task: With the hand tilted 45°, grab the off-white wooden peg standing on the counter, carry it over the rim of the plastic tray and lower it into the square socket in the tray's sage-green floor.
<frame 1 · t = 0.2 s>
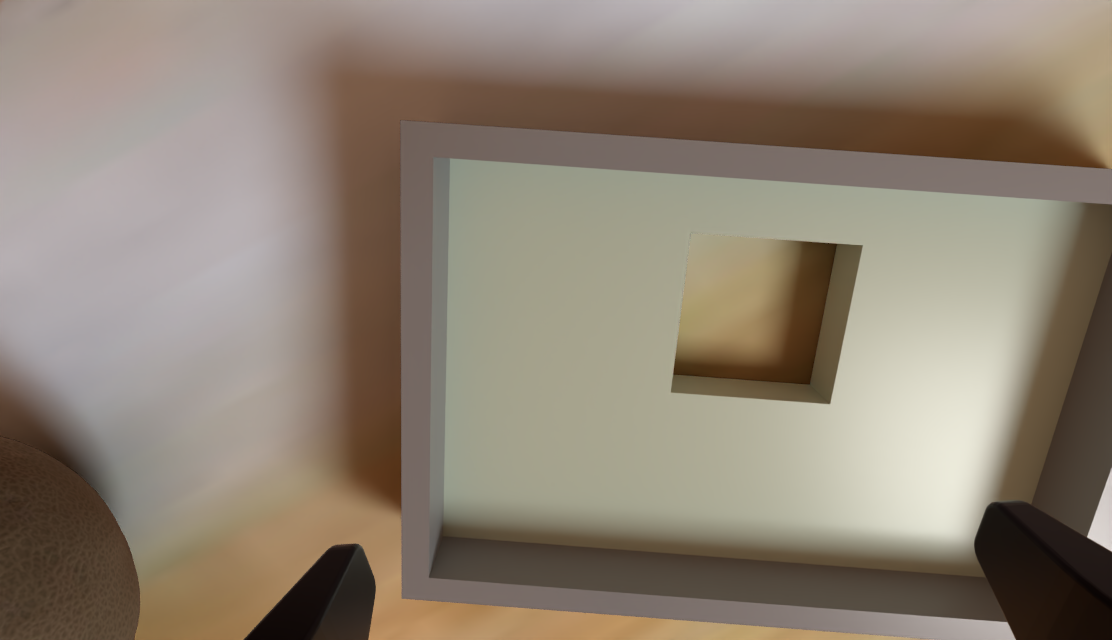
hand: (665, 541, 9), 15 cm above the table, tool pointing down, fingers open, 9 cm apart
brown ball: (78, 508, 27), on the table
tray: (747, 308, 23), on the table
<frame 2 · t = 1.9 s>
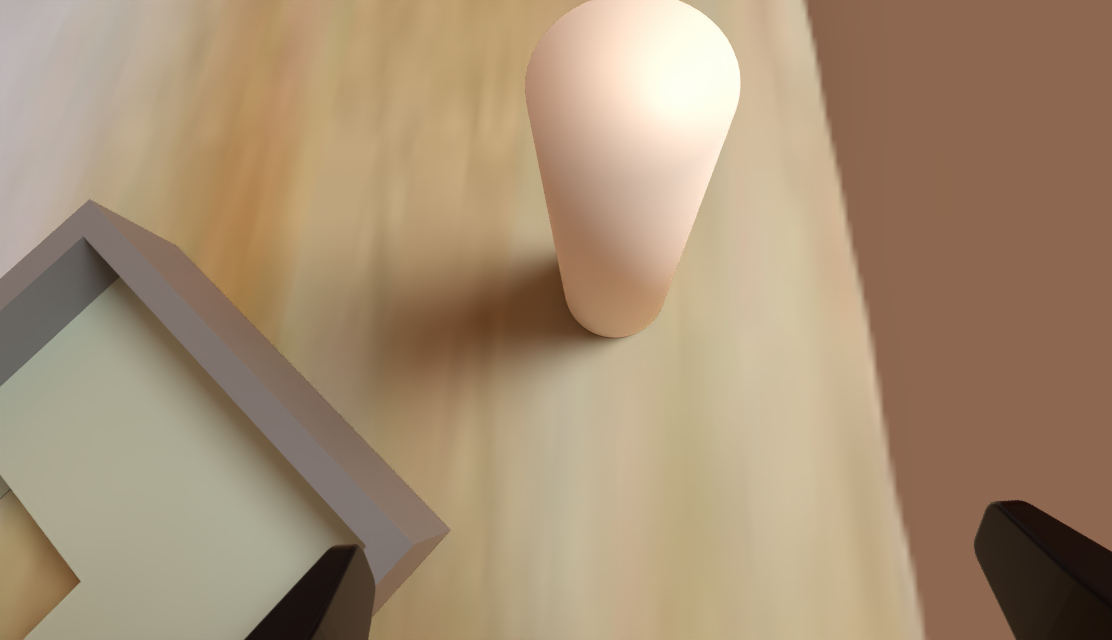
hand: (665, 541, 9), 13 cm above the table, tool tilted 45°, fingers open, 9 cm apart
tray: (19, 575, 23), on the table
peg: (614, 288, 24), on the table
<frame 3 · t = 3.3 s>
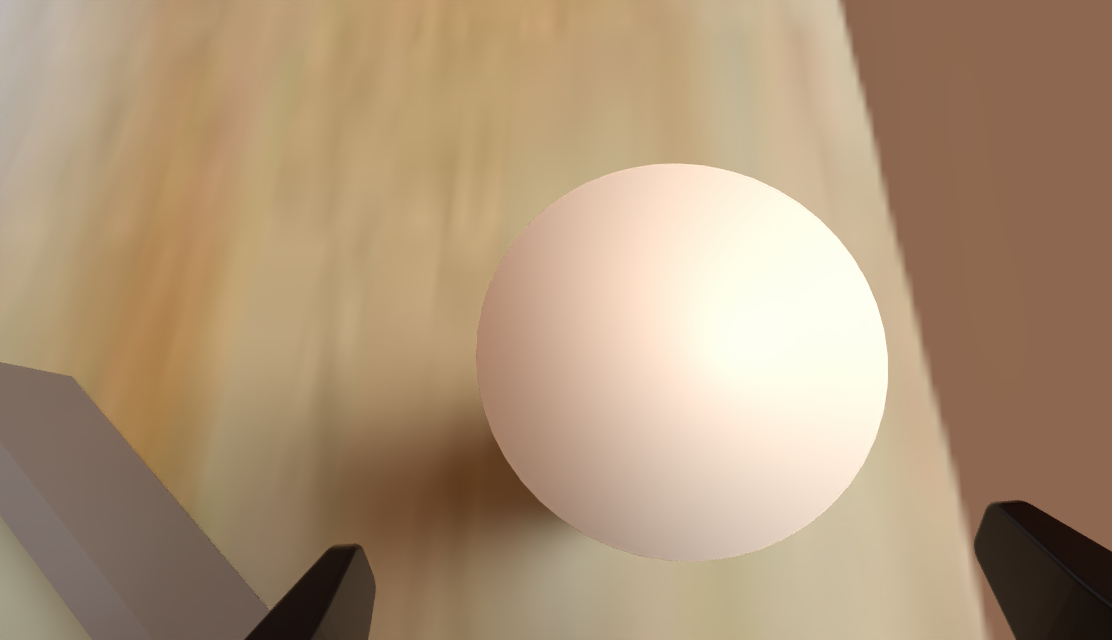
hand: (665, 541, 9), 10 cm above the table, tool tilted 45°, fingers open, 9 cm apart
peg: (625, 438, 18), on the table
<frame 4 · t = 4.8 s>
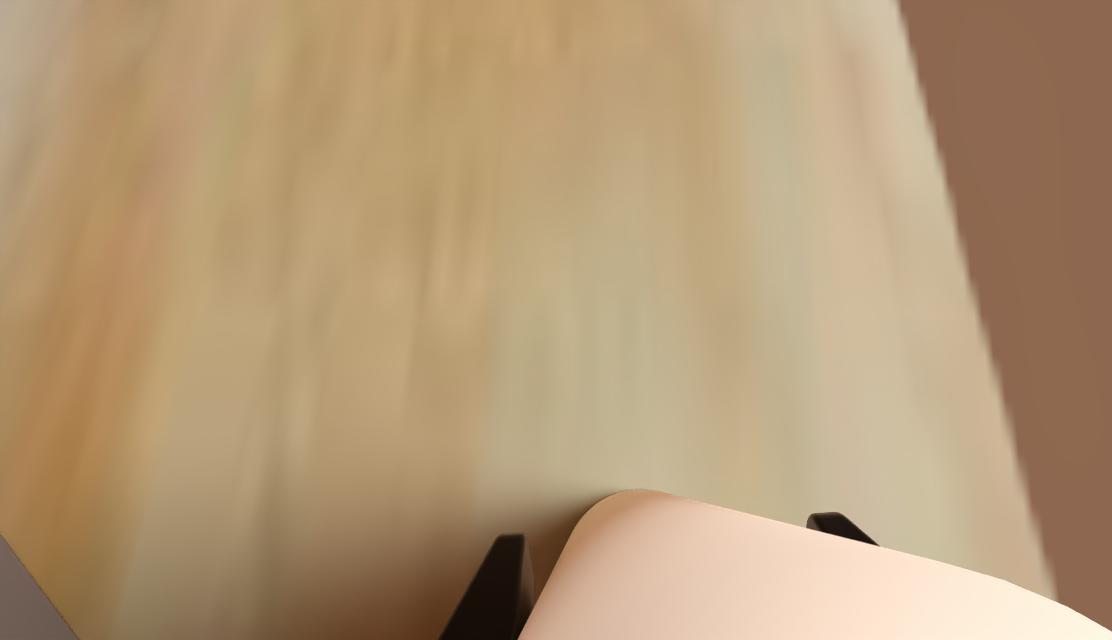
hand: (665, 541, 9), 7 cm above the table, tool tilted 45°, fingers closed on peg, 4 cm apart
peg: (643, 573, 15), on the table, touching gripper
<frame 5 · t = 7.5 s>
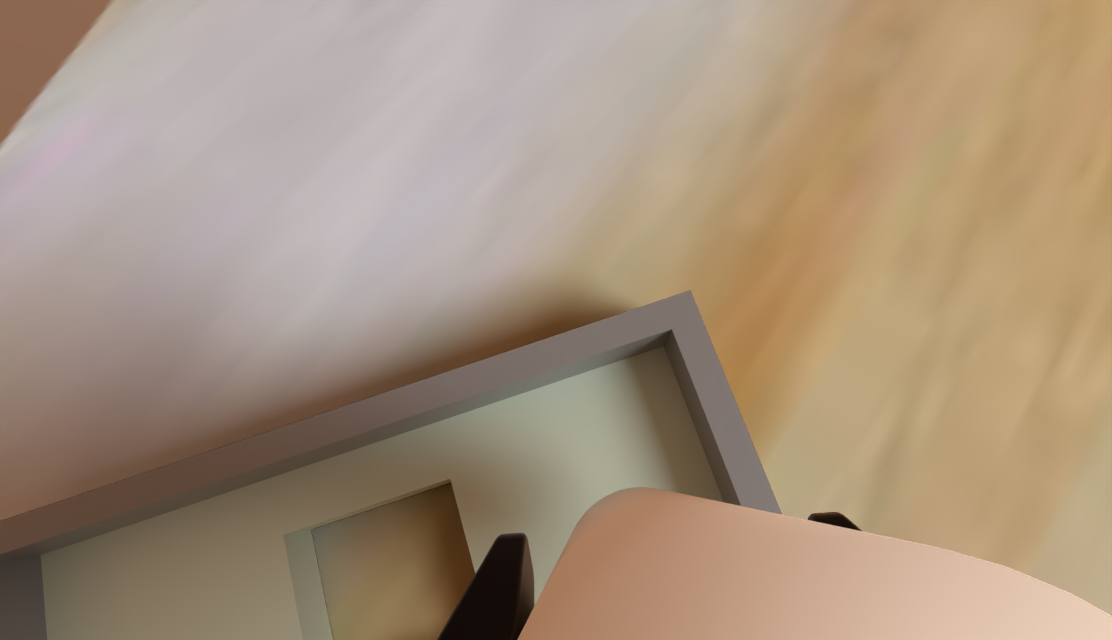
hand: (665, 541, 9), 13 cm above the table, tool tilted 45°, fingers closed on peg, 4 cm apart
tray: (406, 586, 21), on the table
peg: (644, 571, 15), point 7 cm above the table, touching gripper
when the fingers open (7 cm above the table, at t = 10.0 s): peg stays where it is, resting in tray.
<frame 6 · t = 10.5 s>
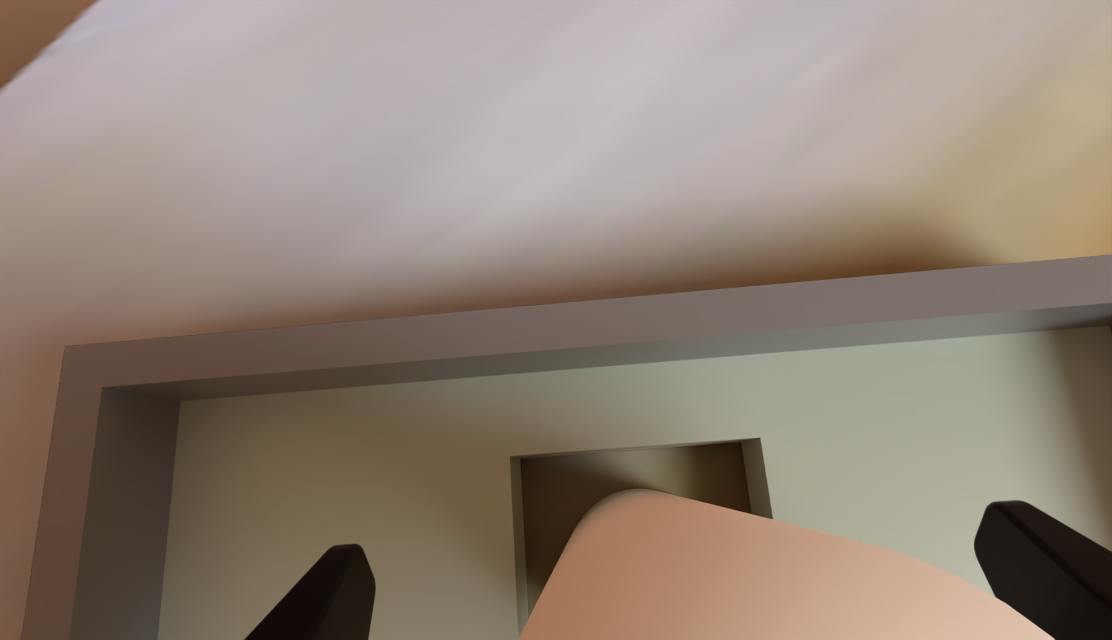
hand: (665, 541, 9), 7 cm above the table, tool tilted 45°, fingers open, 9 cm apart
tray: (641, 568, 15), on the table
peg: (642, 568, 15), resting in tray
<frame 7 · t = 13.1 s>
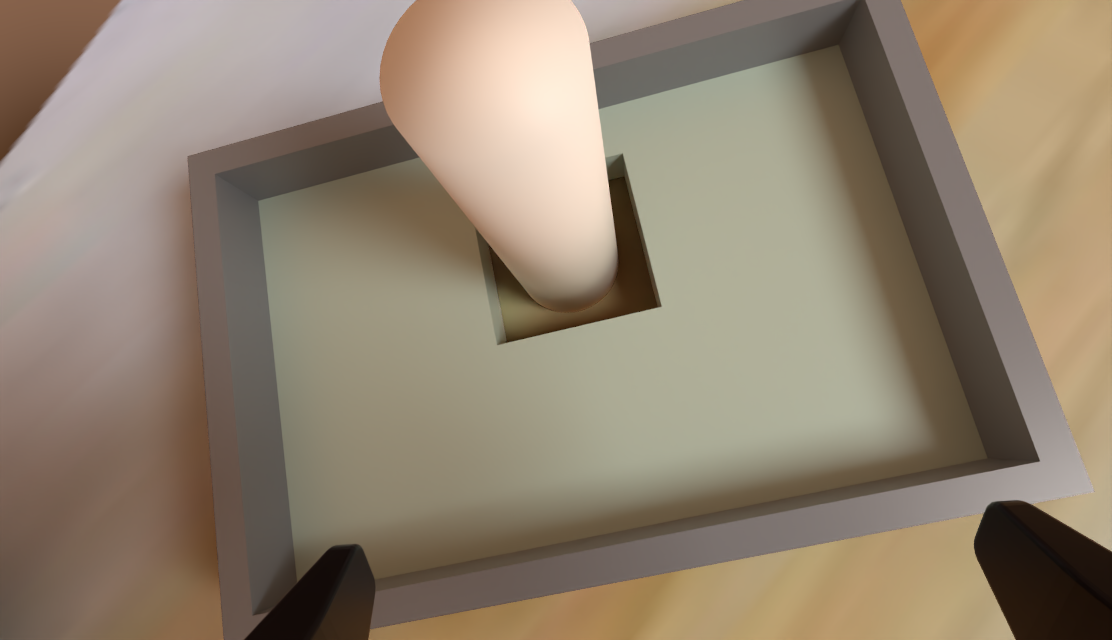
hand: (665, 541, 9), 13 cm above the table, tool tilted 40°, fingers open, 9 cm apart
tray: (567, 263, 24), on the table
peg: (568, 263, 24), resting in tray
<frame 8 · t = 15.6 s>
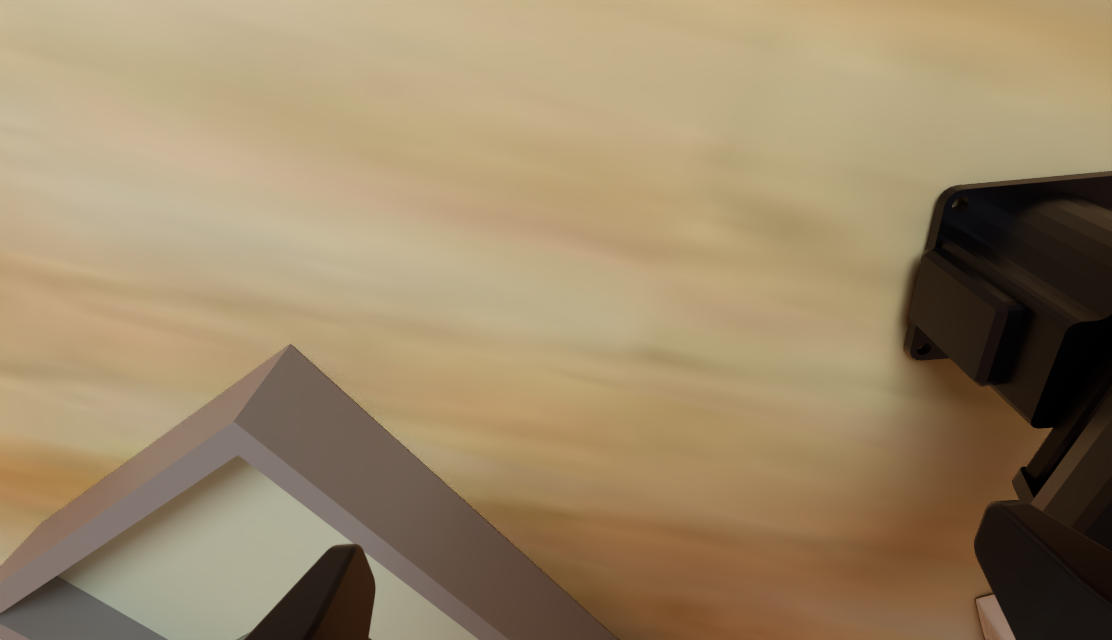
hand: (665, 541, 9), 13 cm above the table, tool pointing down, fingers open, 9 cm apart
small box: (1060, 605, 30), on the table
tray: (330, 614, 31), on the table
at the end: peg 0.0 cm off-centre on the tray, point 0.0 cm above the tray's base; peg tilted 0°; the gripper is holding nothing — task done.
